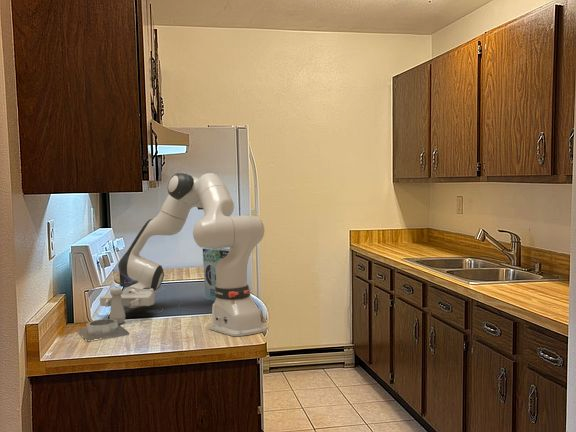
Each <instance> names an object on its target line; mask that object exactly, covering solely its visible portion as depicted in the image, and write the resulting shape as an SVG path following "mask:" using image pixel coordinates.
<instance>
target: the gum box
mask: <svg viewBox="0 0 576 432" xmlns="http://www.w3.org/2000/svg"><path fill="white" fill-rule="evenodd" d="M201 248H202V247H201ZM229 251H230V248H216V249H210V248H202V262H203V275H204V276H203V277H204V280H203V281H204V295H205V298H204V299H205V300H207V301H211V302H215V300H216V296H215V287H216V270H215V268H216V265H217V263H218V262H219V261H220V260H221V259H223V258H224V257H226V256H227V255H228V253H229Z"/></svg>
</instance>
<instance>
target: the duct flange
mask: <svg viewBox="0 0 576 432" xmlns="http://www.w3.org/2000/svg"><path fill="white" fill-rule="evenodd" d="M85 325H86V326H85V327H84V328H77V329H76V331H77V330H78V332H79V333H80V334H81V335H82V336H83V337H84V338H85V339H86V340H87V341H88V340H94V339H100V338H107V337H113V338H118V337H123V336H128V335H130V332H129V331H128V330H127V329H126V328H124V327H123V326H122V325H120V324H118V322H117V320H116V319H110V318H101V319H94V320H92V321H88V322H87V323H86V324H85ZM78 332H77V333H78ZM79 333H78V334H79ZM80 334H79V335H80ZM81 335H80V336H81ZM107 339H108V338H107Z"/></svg>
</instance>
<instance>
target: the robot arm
mask: <svg viewBox="0 0 576 432" xmlns="http://www.w3.org/2000/svg"><path fill="white" fill-rule="evenodd" d="M167 183H168V184H167V193H168V195H167V197H166V199H165V200H164V202H163V204H162V206H161V208H160V211H159V213H158V214H157V215H156V216H155V217H154V218H151V219H148V220H147V221H146V222H145V223H144V225H143V226H142V227H141V229H140V231H139V232H138V233H137V235H136V237H135V238H134V240H133V241H132V243H131V245H130V246H129V247H128V249H127V251H126V252H125V253H124V255H122V257H121V258H120V260H119V263H118V265H117V268H118V271H120V272H119V274H120V273H121V275H123V276H126V277H128V278H132V279H134V280H136V281H138V283H136V284H134V285H131V286H128V287H124V288H125V289H123V290H122V294H121V298H122V302H123V307H127V308H129V309H136V308H141V307H150V306H153V305H155V299H156V297H155V295H156V294H157V292H158V290H159V288H160V287H161V285H162V284H163V281H164V277H165V271H164V268H163V267H162V265H161V264H159V263H157V262H154V261H152V260H149V259H147V258H145V257H143V256H141V255H140V253H141V251H142V250H143V248H144V246H145V245H146V243H147V242H148V240H149V239H150V238H151V237H153V236H174V235H177V234H179V233H180V232H181V231H182V230H183V227H184V226H185V224H186V221H187V218H189V217H188V216H189V213H190V211H191V210H192V209H193V208H197V210H198V211H199V210H202V211H203V212H204V215H203V217H202V218H201V219H199V220H197V222H196V223H195V224H194V226H193V230H192V235H193V239H194V242H195V243H196V245H197V246H198V247H200V248H210V249H216V248H225V249H228V248H229V249H230V251H229V253H228V255H227V256H226V257H224V258H223V259H221V260H220V261H219V262H218V263H217V265H216V268H215V270H216V287H215V296H216V300H215V301H213V303H212V308H211V311H212V312H211V324H209V325H208V330H211V331H215V332H217V333H221V334H225V335H227V336H231V337H243V336H248V335H255V334H260V333H263V332H266V331H268V330H269V326H268V325H267V324H266V323H264V322H263V321H262V317H261V316H262V308H260V307H257V306H256V303H255V302H254V300H253V299H252V297H251V289H250V287H249V286H250V285H249V284H248V263H249V258H250V256H251V254H252V252H253V250H254V249H255V247H256V246H257V245H258V244H259V243H261V241H262V240H263V238H264V237H265V236H264V235H265V226H264V223H263V221H262V219H261V218H260V217H258V216H253V215H247V214H246V215H245V214H244V215H243V214H242V215H232V214H233V213H234V209H235V204H234V201H233V199H232V196H231V195H230V192H229V190H228V188H227V186H226V184H225V183H224V182H223V180H222V179H221V177H219V175H217V174H216V173H212V172H207V173H205V174H204V173H203V175H201V176H200V177H196V176H193V175H191V174H188V173H183V172H177V173H174V174H173V175H171V177H170V178H169V180H168V182H167ZM111 301H112V295H111V294H110V293H107V294H104V295H102V296H100V297H99V305H100V306H101V307H106V308H108V307H111Z"/></svg>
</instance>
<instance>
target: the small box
mask: <svg viewBox="0 0 576 432" xmlns="http://www.w3.org/2000/svg"><path fill="white" fill-rule="evenodd" d="M118 271H119V270H118ZM136 283H138V281H136V280H134V279H132V278H128V277H126V276H123V275H121V273H120V271H119V286H120V285H121V286H120V287H122V286H123V287H122V288H127V287H129V286H131V285H134V284H136Z"/></svg>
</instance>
